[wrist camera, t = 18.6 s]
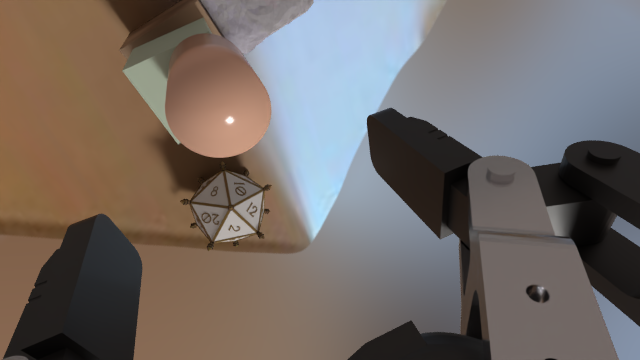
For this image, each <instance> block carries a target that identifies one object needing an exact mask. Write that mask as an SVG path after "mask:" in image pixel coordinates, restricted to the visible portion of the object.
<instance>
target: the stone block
mask: <svg viewBox="0 0 640 360" xmlns="http://www.w3.org/2000/svg"><path fill="white" fill-rule="evenodd" d="M200 1H201V2H202V4H203V6H204V7H205V9H206V10H207V12H208V14H209V15H210V16H211V18H212V20H213V21H214V23H215V24H216V26H217V27H218V29H219V31H220V33H221V34H222V36H223V37H224V38H226V39H228V40H229V41H231V42H232V43H233V44H235V45H236V46H237V47H238V48H239V50H240V51H241V52H242V54H246V53H248V52H250V51H251V50H253V49H254V48H255V46H256V45H258V44H260V43H261V42H262V41H263V40H264V39H265V38H266V37H268V36H269V35H271V34H272V33H274V32H276V31H277V30H279V29H280V28H282V27H283V26H285V25H287V24H289V23H290V22H292V21H293V20H294V19H296V18H297V17H299V16H300V15H302V14H304V13H305V12H306V11H307V10H308V9H309V8H310V7H311V6H312V4H313V0H200Z"/></svg>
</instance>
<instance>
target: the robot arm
mask: <svg viewBox="0 0 640 360" xmlns="http://www.w3.org/2000/svg"><path fill="white" fill-rule="evenodd" d="M367 128H368V137H369V146H370V155H371V160H372V163H373V166H374V168H375V170H376V171H377V173H378V174H379V175H380V176H381V177H382V179H384V181H385V182H386V183H387V184H388V185H389V186H390V187H391V188H392V189H393V190H394V191H395V192H396V193H397V194H398V195H399V196H400V197H401V198H402V200H403V201H404V202H405V203H406V204H407V205H408V206H409V207H410V208H411V209H412V210H413V211H414V212H415V213H416V214H417V215H418V216H419V218H420V219H422V221H423V222H424V223H425V224H426V225H427V226H428V227H429V228H430V229H431V230H432V231H433V232H434V233H435V234H436V235H437V236H438V238H439V239H442V238H444V237H447V236H449V235H451V234H453V233H454V234H455V235H457V236H458V237H459V238H460V239H459V262H460V284H461V326H460V334H456V333H446V332H430V333H422V334H420V333H419V331H418V330H417V328H416V327H415V325H414V324H413V322H412V321H409V322H407V323H405V324H403V325H401V326H399V327H397V328H395V329H393V330H392V331H389V332H387V333H385V334H384V335H381V336H379V337H377V338H375V339H373V340H371V341H369V342H367V343H365V344H364V345H363V346H362V347H361V348H360V349H359V350H357V351H356V352H355V353H354V354H353V355H352V356H351V357H350V358H349V359H348V360H619V359H618V357H617V353H616V351H615V348H614V345H613V343H612V340H611V337H610V335H609V332H608V329H607V327H606V324H605V321H604V319H603V316H602V313H601V311H600V308H599V305H598V303H597V300H596V297H595V295H594V293H593V289H592V287H591V286H593V287H594V288H595V289H596V290H597V291H599V292H600V293H601V294H602V295H603V296H605V298H607V299H608V300H609V301H610V302H611V303H613V304H614V305H615V306H616V307H617V308H618V309H620V310H621V311H622V312H623V313H624V314H626V315H627V316H628V317H629V318H630V319H632V320H633V321H634V322H635V323H636V324H637V325H638V326H640V247H639V246H637V245H636V244H634V243H633V242H631V241H630V240H628V239H627V238H625V237H624V236H622V235H621V234H619V233H618V232H616V231H615V230H613V229H612V228H611V226H612V224H613V222H614V220H615V218H616V217H617V215H618V216H619V217H621V218H623V219H624V220H626V221H627V222H629V223H631V224H632V225H634V226H635V227H637V228H639V229H640V153H638V152H636V151H633V150H631V149H629V148H627V147H624V146H622V145H618V144H615V143H611V142H605V141H581V142H577V143H574V144H572V145H570V146H568V147H567V149H566V150H565V153H564V156H563V159H562V162H561V163H556V164H549V165H542V166H536V167H530V166H529V165H527V164H526V163H524V162H522V161H520V160H518V159H515V158H511V157H506V156H488V157H481V156H480V155H478V154H477V153H475V152H474V151H472V150H470V149H469V148H467V147H466V146H464V145H463V144H461V143H460V142H458V141H456V140H455V139H453V138H452V137H450V136H449V137H448V136H447V134H446V133H444V132H442V131H441V130H438V128H436V127H435V126H433V125H432V124H430V123H429V122H427V121H424V120H421V119H417V118H413V117H408V118H406V117H405V116H403V115H402V114H400V113H399V112H397V111H396V110H394V109H393V108H389V109H386V110H383V111H380V112H377V113H375V114H372V115H369V116H368V118H367ZM141 277H142V262H141V258H140V256H139V254H138V252H137V250H136V249H135V247H134V246H133V245H132V244H131V243H130V242H129V240H128V239H127V238H126V237H125V236H124V235H123V233H122V232H121V231H120V230H119V229H118V228H117V226H116V225H115V224H114V223H113V222H112V221H111V219H110V218H109V217H107V216H106V215H104V214H98V215H96V216H93V217H90V218H87V219H85V220H82V221H79V222H77V223H74V224H71V225H70V226H69V227H68V229H67V232H66V234H65V237H64V239H63V242H62V245H61V247H60V249H57V250H56V251H55V252H54V253H53V255H52V256H51V257H50V258H49V260H48V261H47V262H46V263H45V265H44V266H43V267H42V268H41V271H40V273H39V276H38V278H37V280H36V283H35V285H34V286H35V288H34V289H33V290H32V292H31V295H30V297H29V299H28V301H29V303H28V304H26V306H25V308H24V311H23V313H22V315H21V318H20V320H19V322H18V325H17V327H16V329H15V332H14V334H13V336H12V339H11V341H10V344H9V346H8V348H7V351H6V353H5V355H4V358H3V360H133V357H134V346H135V337H136V326H137V316H138V307H139V297H140V287H141Z"/></svg>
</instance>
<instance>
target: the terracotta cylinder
mask: <svg viewBox="0 0 640 360" xmlns="http://www.w3.org/2000/svg"><path fill="white" fill-rule="evenodd" d="M165 115H166V120H167V122H168V125H169V127H170V129H171V131H172V133H173V134H174V136H175V137H176V138H177V139H178V140H179V141H180V142H181V143H182V144H183V145H184V146H185V147H187V148H188V149H190V150H192V151H194V152H196V153H198V154H201V155H204V156H208V157H215V158H224V157H231V156H235V155H238V154H241V153H243V152H245V151H247V150H249V149H250V148H252V147H253V146H254V145H256V144H257V143H258V142H259V141H260V139H261V138H262V137H263V136H264V134H265V132H266V130H267V128H268V126H269V122H270V118H271V103H270V98H269V95H268V93H267V90H266V88H265V87H264V85H263V84H262V82H261V81H260V79H259V78H258V76H257V75H256V73H255V72H254V70H253V69H252V67H251V66H250V64H249V63H248V61H247V60H246V58H245V57H244V55H243V54H242V52H241V51H240V50H239V48H238V47H237V46H236V45H235V44H233V43H232V42H231V41H229V40H228V39H226V38H224V37H221V36H219V35H215V34H209V33H202V34H196V35H192V36H190V37H188V38H186V39H184V40H183V41H182V42H180V43H179V44H178V45H177V46H176V48H175V49H174V51H173V52H172V55H171V57H170V61H169V69H168V79H167V89H166V99H165Z"/></svg>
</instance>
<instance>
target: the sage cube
mask: <svg viewBox="0 0 640 360" xmlns="http://www.w3.org/2000/svg"><path fill="white" fill-rule="evenodd" d="M202 33H209V34H212V32H211V31H210V29H209V27H208V25H207V23H206V21H205V19H204V17H203V18H201V19H198V20H196V21H194V22H192V23H190V24H187V25H185V26H183V27H181V28H178V29H176V30H174V31H172V32H170V33H167V34H165V35H163V36H161V37H159V38H156V39H154V40H152V41H150V42H147V43H145V44H143V45H141V46H139V47H136V48H134V49H133V50H132V52H131V54H130V56H129V58H128V60H127V62H126V64H125V66H124V68H123V70H122V71H123V72H124V73H125V75H126V76H127V77H128V79H129V80H130V81H131V83H132V84H133V85H134V87H135V88H136V89H137V91H138V92H139V93H140V95H141V96H142V97H143V99H144V100H145V101H146V103H147V104H148V105H149V106H150V108H151V109H152V110H153V112H154V113H155V114H156V116H157V117H158V118H159V120H160V121H161V122H162V124H163V125H164V126H165V128H166V129H167V130H168V132H169V133H170V134H171V136H172V137H173V138H174V140H175V141H176V142H177V144H180V143H181V142H180V141H179V140H178V139H177V138H176V137H175V136H174V134H173V133H172V131H171V129H170V127H169V125H168V122H167V120H166V115H165V99H166V89H167V79H168V69H169V61H170V57H171V55H172V52H173V51H174V49H175V48H176V46H177V45H178V44H179V43H180V42H182V41H183V40H184V39H186V38H188V37H190V36H192V35H196V34H202Z"/></svg>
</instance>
